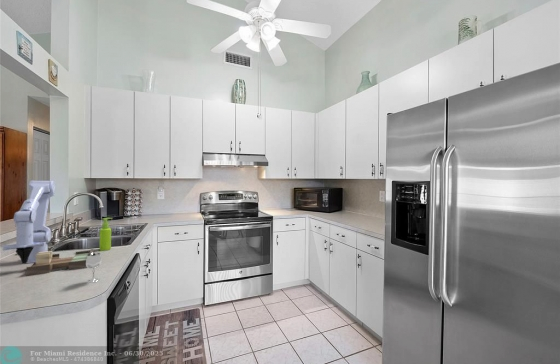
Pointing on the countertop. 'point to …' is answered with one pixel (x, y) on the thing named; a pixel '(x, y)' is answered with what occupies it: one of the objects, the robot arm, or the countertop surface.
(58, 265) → the track
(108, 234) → the soap dispenser
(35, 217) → the robot arm
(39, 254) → the maple block
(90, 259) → the wineglass
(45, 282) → the countertop surface
